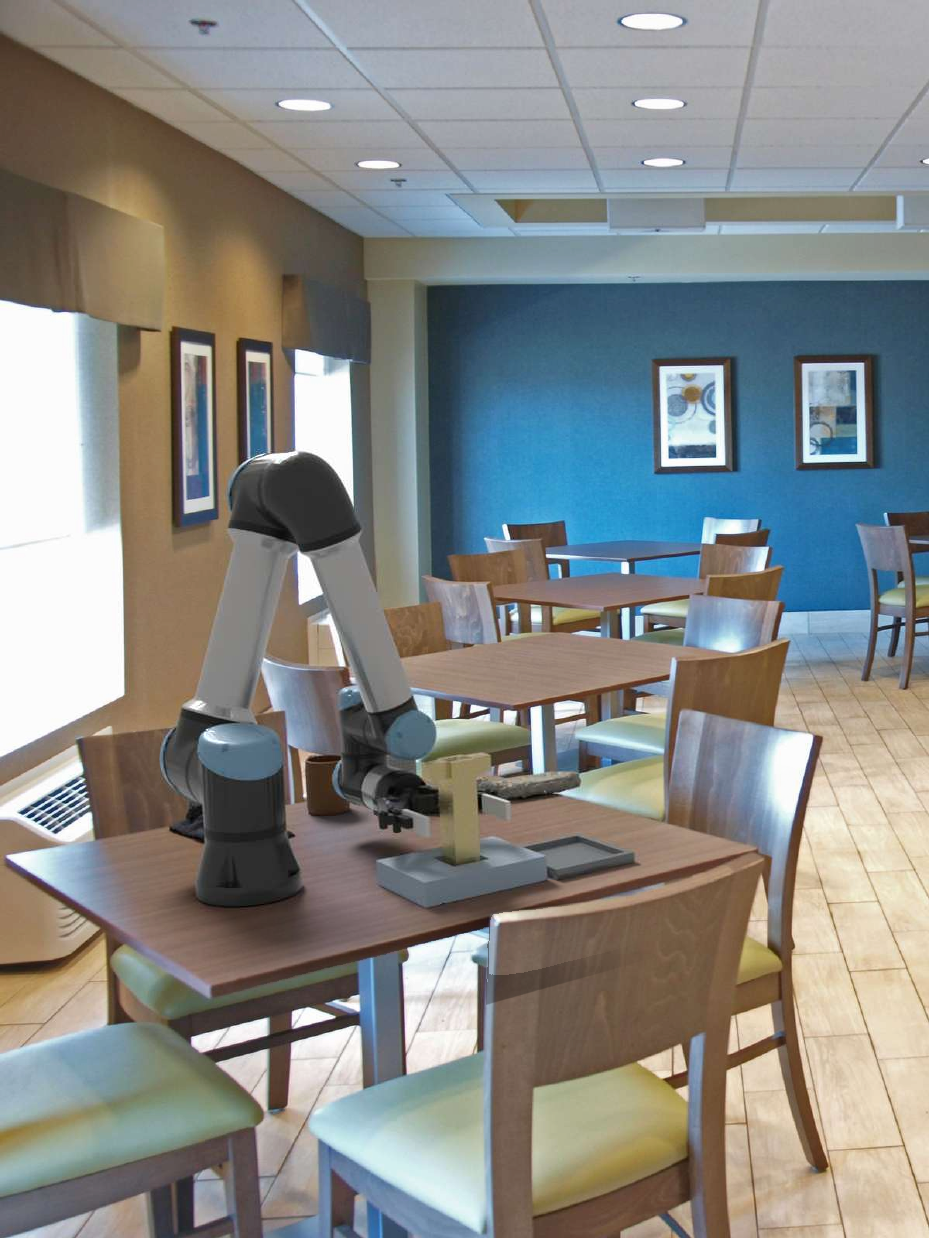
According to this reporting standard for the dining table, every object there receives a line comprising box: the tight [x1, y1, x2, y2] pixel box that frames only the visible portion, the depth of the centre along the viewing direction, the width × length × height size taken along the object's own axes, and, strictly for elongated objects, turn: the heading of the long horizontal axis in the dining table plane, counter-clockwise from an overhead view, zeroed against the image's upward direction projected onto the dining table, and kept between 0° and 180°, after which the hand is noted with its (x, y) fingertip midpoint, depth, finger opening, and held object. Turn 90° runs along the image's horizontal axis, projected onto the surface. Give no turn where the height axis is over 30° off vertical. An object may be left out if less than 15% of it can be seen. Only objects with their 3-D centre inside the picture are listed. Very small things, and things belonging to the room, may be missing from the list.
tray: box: [520, 833, 636, 881], centre depth 205 cm, size 14×14×2 cm
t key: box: [421, 751, 492, 867], centre depth 196 cm, size 10×4×18 cm, turn 121°
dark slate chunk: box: [168, 800, 296, 841], centre depth 231 cm, size 15×22×5 cm
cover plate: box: [375, 835, 548, 909], centre depth 197 cm, size 20×14×4 cm
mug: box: [304, 754, 351, 816], centre depth 244 cm, size 12×8×9 cm, turn 28°
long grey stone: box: [433, 770, 582, 807], centre depth 247 cm, size 35×5×10 cm
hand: (469, 818), depth 195 cm, fingers open, 13 cm apart
